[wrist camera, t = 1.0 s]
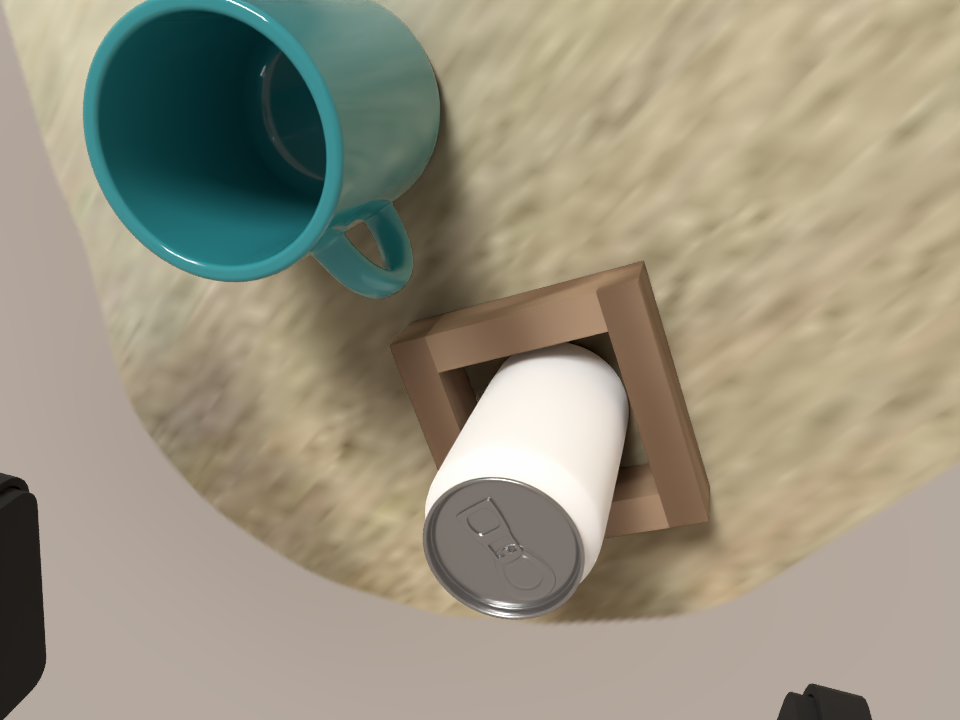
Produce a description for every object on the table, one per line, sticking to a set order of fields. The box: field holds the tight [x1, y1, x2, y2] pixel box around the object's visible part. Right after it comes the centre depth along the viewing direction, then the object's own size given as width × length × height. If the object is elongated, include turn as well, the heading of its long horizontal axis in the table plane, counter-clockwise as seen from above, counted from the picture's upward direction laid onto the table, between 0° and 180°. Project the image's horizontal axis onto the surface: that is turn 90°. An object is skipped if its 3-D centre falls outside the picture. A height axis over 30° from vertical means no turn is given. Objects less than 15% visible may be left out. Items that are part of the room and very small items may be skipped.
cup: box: [83, 0, 440, 299], centre depth 33 cm, size 9×12×11 cm
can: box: [423, 342, 629, 620], centre depth 35 cm, size 6×6×12 cm
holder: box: [390, 261, 710, 538], centre depth 39 cm, size 11×11×3 cm
